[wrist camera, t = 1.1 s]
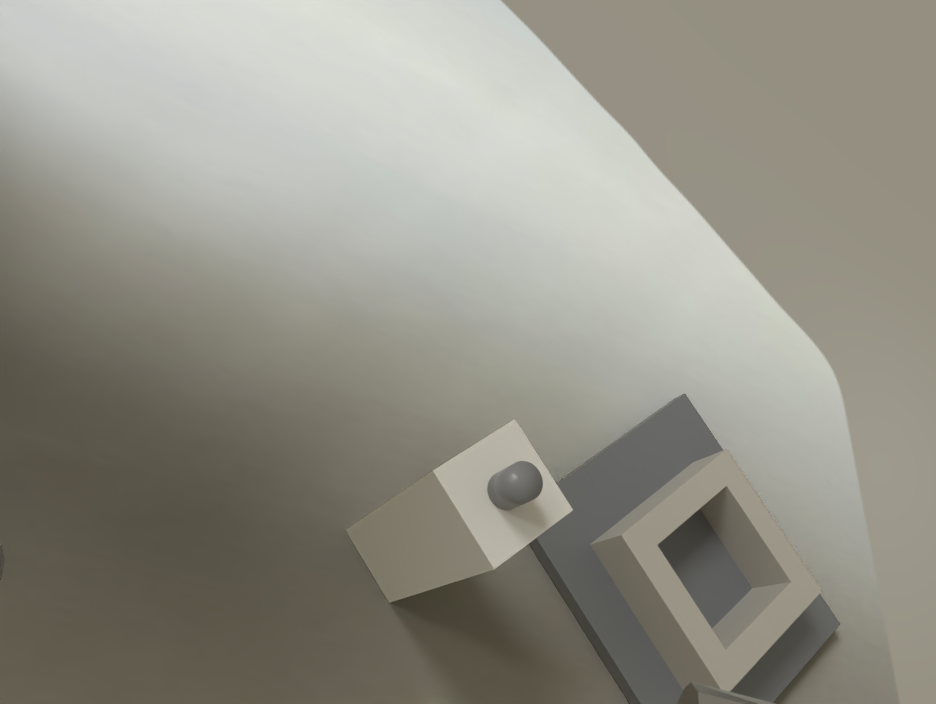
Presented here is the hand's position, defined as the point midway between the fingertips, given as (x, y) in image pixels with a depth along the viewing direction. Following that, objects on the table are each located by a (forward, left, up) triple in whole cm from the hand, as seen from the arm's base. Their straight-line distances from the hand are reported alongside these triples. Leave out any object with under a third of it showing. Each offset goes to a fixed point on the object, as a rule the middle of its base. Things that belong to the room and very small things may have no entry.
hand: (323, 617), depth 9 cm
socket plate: (+11, +25, -28) cm, 39 cm away
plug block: (+1, +12, -28) cm, 30 cm away
